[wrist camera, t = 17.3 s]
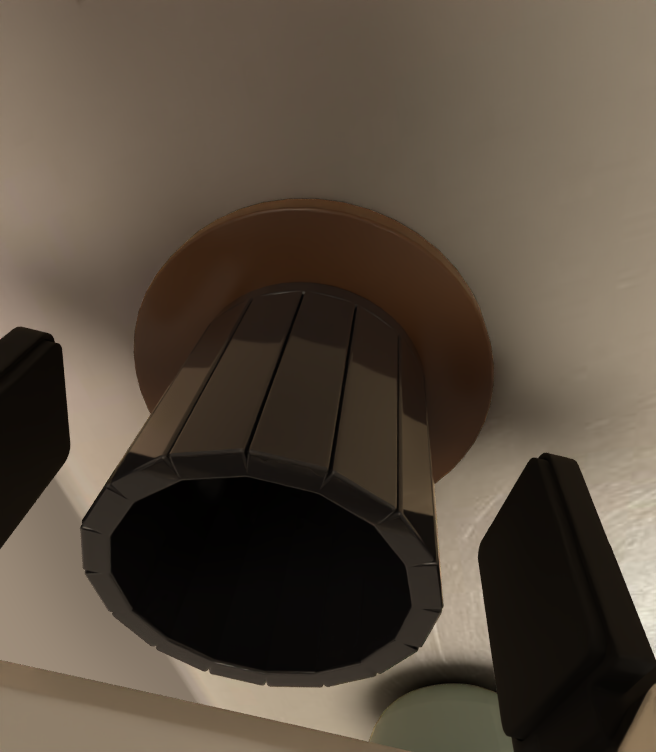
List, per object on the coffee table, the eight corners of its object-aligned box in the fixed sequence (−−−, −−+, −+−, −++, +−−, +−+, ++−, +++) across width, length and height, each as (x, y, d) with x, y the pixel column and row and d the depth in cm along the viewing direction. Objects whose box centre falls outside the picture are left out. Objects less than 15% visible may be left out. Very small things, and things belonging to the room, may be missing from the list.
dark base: (86, 238, 13) (69, 249, 12) (474, 158, 11) (479, 166, 10) (211, 507, 17) (203, 526, 17) (500, 482, 15) (504, 503, 15)
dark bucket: (459, 316, 12) (502, 511, 7) (378, 522, 16) (368, 741, 11) (205, 253, 12) (70, 407, 7) (184, 476, 16) (88, 677, 11)
